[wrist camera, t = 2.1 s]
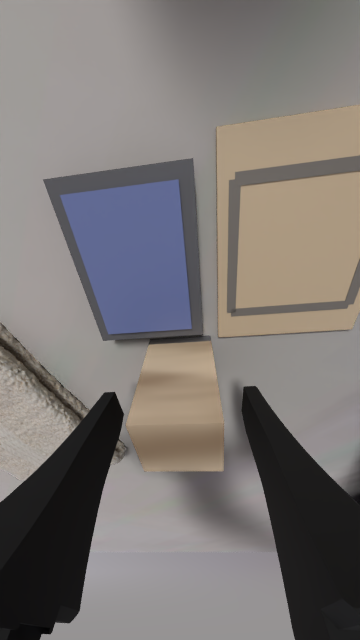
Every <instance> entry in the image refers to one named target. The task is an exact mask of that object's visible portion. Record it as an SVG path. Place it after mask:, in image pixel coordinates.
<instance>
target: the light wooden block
mask: <svg viewBox="0 0 360 640" xmlns="http://www.w3.org/2000/svg"><path fill="white" fill-rule="evenodd" d="M126 428H127V430H128V432H129V435H130V437H131V440H132V442H133V445H134V447H135V449H136V452H137V454H138V457H139V459H140V462H141V464H142V466H143V469H144V471H224V419H223V413H222V407H221V400H220V394H219V388H218V381H217V375H216V369H215V363H214V356H213V350H212V344H211V337H210V336H196V337H180V338H164V339H150V342H149V346H148V349H147V353H146V356H145V360H144V363H143V367H142V370H141V374H140V377H139V381H138V384H137V388H136V391H135V395H134V398H133V401H132V405H131V408H130V412H129V415H128V419H127V422H126Z"/></svg>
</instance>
